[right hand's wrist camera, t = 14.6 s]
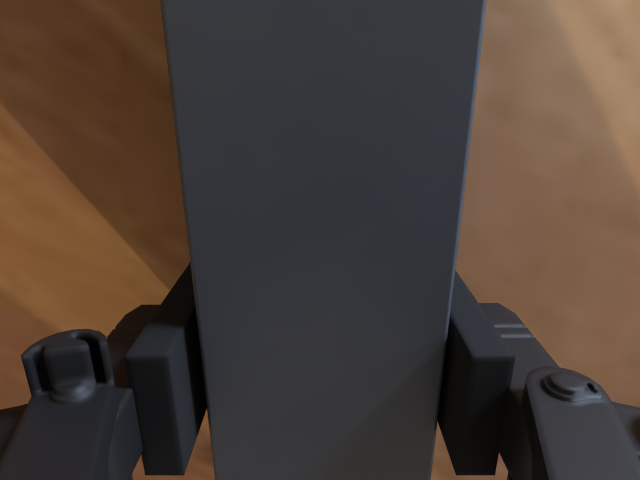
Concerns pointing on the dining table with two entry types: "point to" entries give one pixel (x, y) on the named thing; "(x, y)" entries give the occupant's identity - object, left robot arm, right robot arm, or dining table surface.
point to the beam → (323, 223)
